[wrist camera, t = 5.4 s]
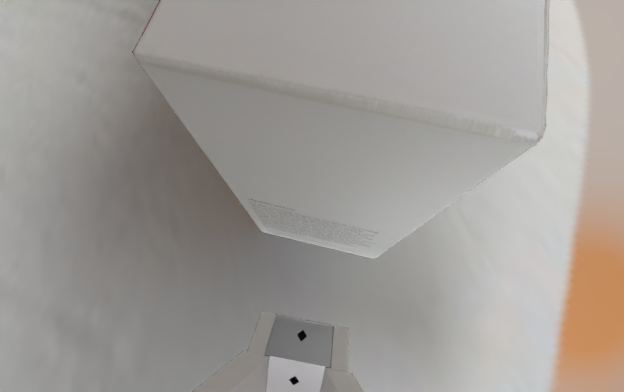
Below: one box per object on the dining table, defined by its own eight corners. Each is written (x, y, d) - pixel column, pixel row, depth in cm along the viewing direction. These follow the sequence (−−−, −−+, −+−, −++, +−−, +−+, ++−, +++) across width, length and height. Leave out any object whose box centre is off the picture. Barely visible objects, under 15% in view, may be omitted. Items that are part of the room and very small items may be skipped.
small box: (295, 107, 20) (268, -232, 7) (399, 128, 19) (561, -195, 7) (257, 235, 17) (115, 51, 5) (376, 263, 17) (568, 142, 4)
